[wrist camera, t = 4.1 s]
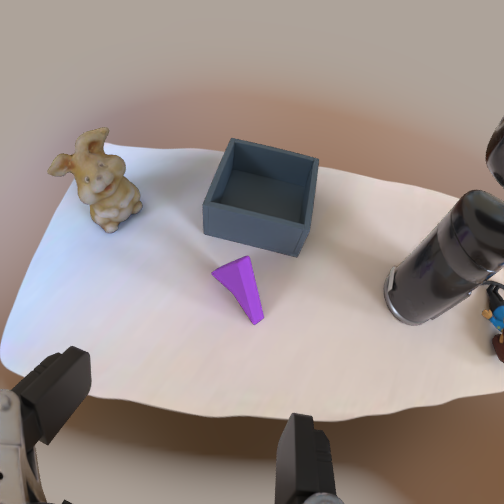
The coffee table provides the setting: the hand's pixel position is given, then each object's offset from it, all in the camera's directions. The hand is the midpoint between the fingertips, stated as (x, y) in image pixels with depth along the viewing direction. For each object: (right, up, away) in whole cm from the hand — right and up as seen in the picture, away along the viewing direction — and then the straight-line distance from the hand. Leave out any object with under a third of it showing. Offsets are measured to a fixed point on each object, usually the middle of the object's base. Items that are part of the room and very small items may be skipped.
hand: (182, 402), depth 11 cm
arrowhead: (+1, 0, +30) cm, 30 cm away
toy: (+45, -8, +31) cm, 56 cm away
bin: (+4, +12, +38) cm, 40 cm away
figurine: (-18, +11, +34) cm, 40 cm away
